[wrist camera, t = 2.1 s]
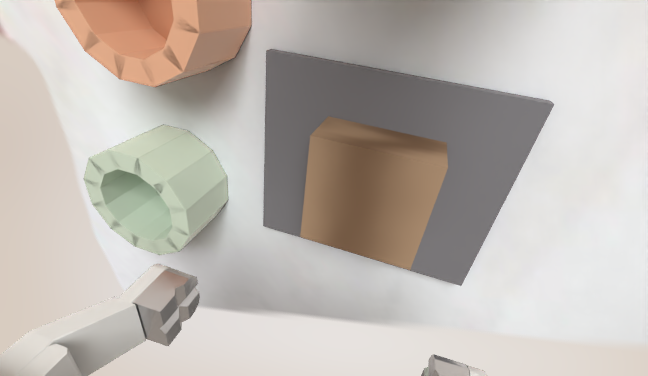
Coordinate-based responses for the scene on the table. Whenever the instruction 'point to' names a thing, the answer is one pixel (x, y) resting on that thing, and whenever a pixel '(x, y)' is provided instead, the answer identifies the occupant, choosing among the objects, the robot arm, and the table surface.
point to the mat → (411, 118)
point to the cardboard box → (371, 189)
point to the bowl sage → (157, 188)
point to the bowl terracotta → (158, 35)
